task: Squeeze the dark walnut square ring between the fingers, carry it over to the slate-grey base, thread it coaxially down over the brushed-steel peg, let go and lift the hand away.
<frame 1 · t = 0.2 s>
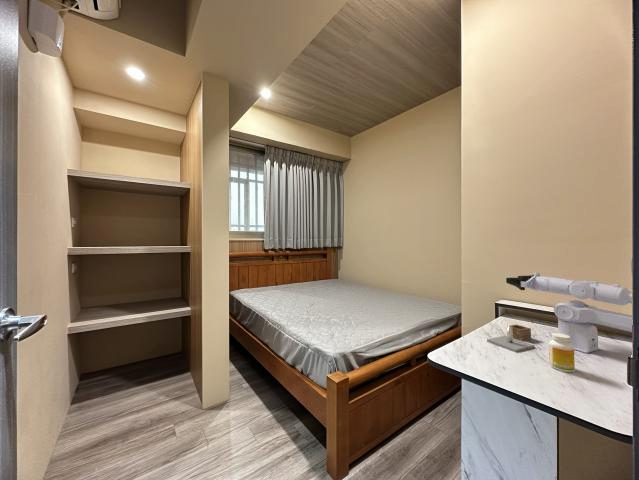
hand: (512, 279, 108), 21 cm above the worktop, tool horizontal, fingers open, 7 cm apart
peg base: (510, 344, 92), on the worktop
square ring: (519, 337, 98), on the worktop
supplement bottle: (561, 368, 74), on the worktop
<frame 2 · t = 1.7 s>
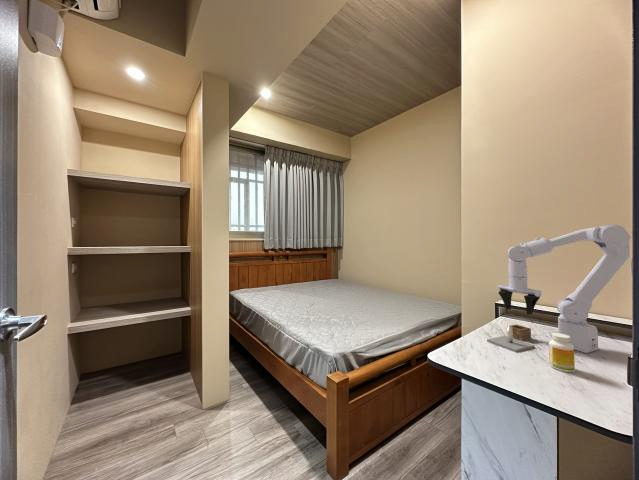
hand: (518, 311, 98), 10 cm above the worktop, tool pointing down, fingers open, 7 cm apart
nothing on the worktop moved.
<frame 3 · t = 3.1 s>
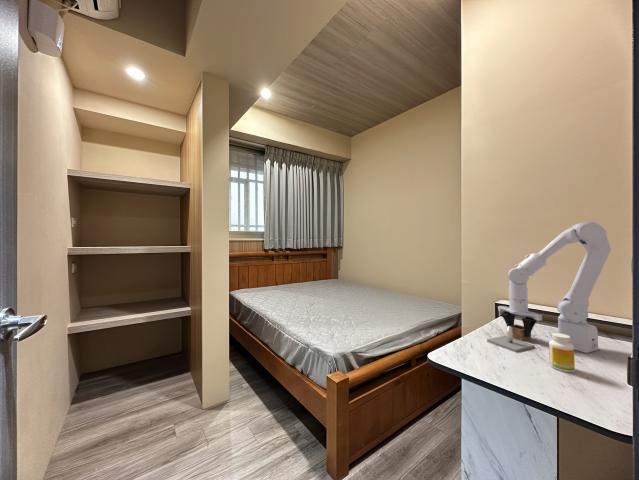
hand: (519, 333, 98), 1 cm above the worktop, tool pointing down, fingers closed on square ring, 5 cm apart
square ring: (519, 337, 98), on the worktop, touching gripper
everything else where it was.
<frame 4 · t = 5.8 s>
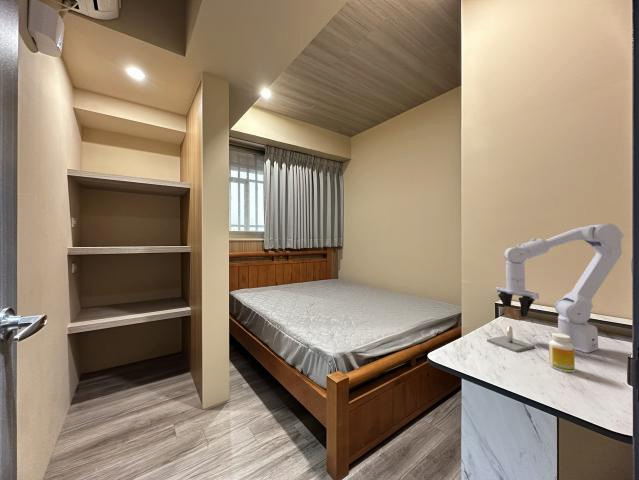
hand: (516, 314, 96), 10 cm above the worktop, tool pointing down, fingers closed on square ring, 5 cm apart
square ring: (516, 317, 96), point 8 cm above the worktop, touching gripper
everything else where it was.
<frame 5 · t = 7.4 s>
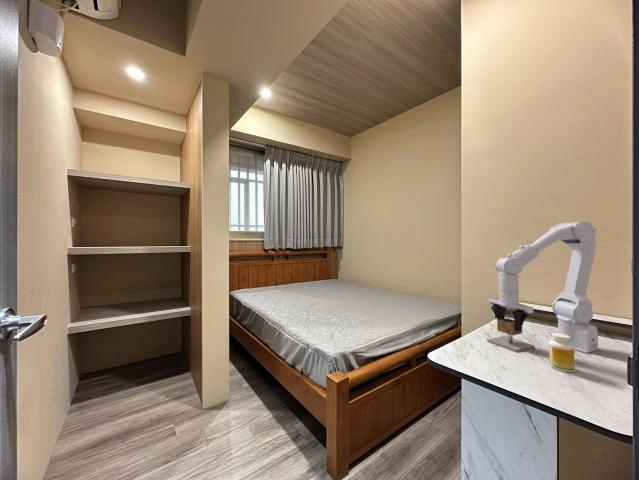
hand: (509, 328, 92), 6 cm above the worktop, tool pointing down, fingers closed on square ring, 5 cm apart
square ring: (509, 331, 92), point 5 cm above the worktop, touching gripper
everything else where it was.
when the fingers open (3 cm above the worktop, at t = 8.5 s): square ring drops 1 cm, resting on peg base.
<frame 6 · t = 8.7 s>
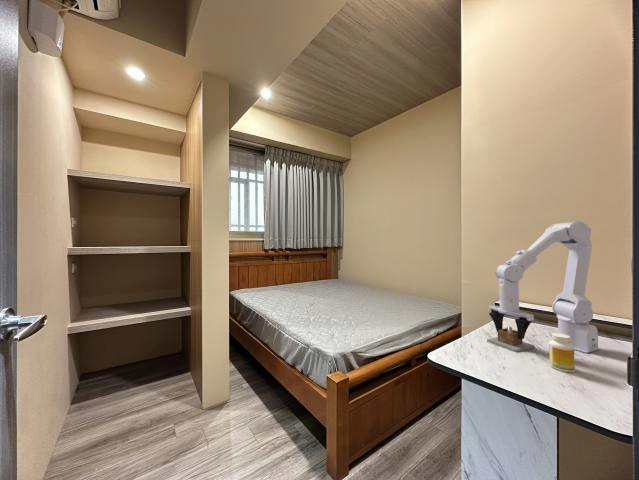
hand: (509, 335, 92), 3 cm above the worktop, tool pointing down, fingers open, 7 cm apart
square ring: (509, 342, 92), point 1 cm above the worktop, touching peg base
everything else where it was.
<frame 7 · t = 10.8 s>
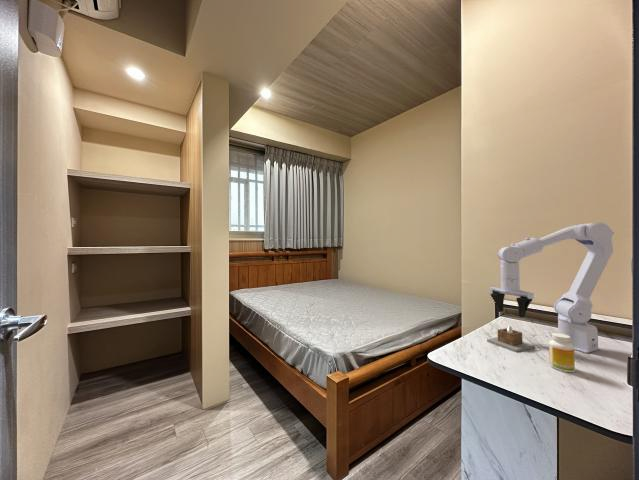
hand: (510, 314, 96), 10 cm above the worktop, tool pointing down, fingers open, 7 cm apart
nothing on the worktop moved.
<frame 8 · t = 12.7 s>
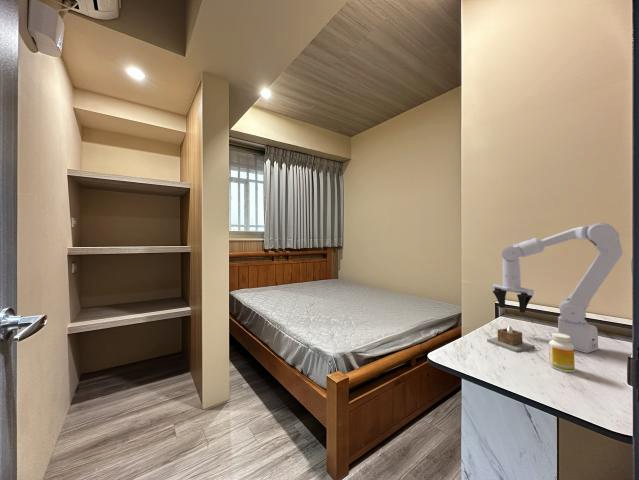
hand: (512, 309, 101), 10 cm above the worktop, tool pointing down, fingers open, 7 cm apart
nothing on the worktop moved.
at the end: square ring 0.0 cm off-centre on the peg base, point 0.8 cm above the peg base's base; square ring tilted 0°; the gripper is holding nothing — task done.
